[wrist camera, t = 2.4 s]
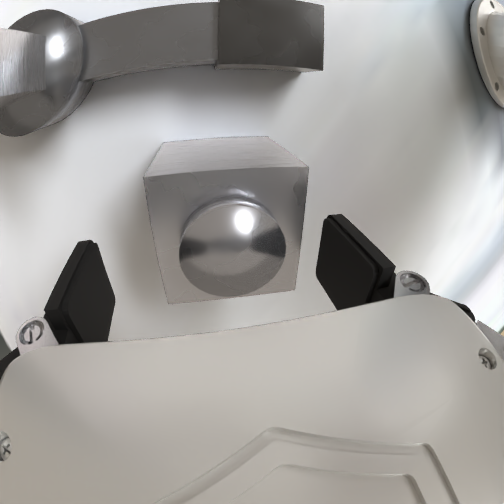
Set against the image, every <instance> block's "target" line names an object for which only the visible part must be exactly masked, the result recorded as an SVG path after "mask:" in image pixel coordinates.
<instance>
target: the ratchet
mask: <svg viewBox="0 0 504 504" xmlns="http://www.w3.org/2000/svg"><path fill="white" fill-rule="evenodd" d="M323 51H324V6H323V5H318V4H313V3H308V2H302V1H296V0H218V2H207V3H189V4H177V5H168V6H160V7H153V8H147V9H141V10H136V11H131V12H126V13H122V14H117V15H113V16H109V17H105V18H102V19H98V20H95V21H91V22H88V23H83V22H81V21H79V20H77V19H75V18H73V17H71V16H68V15H66V14H64V13H62V12H60V11H56V10H50V9H45V10H39V11H35V12H32V13H30V14H28V15H26V16H24V17H22V18H21V19H19V20H18V21H16V22H15V23H14V24H13V25H12V26H10V27H9V28H8V29H4V28H0V133H1V134H4V135H7V136H22V135H26V134H29V133H31V132H33V131H36V130H38V129H41V128H44V127H46V126H49V125H52V124H54V123H57V122H59V121H61V120H63V119H64V118H66V117H67V116H69V115H70V114H71V113H72V112H73V111H74V110H76V108H77V107H78V106H79V105H80V104H81V103H82V101H83V100H84V99H85V97H86V96H87V94H88V93H89V91H90V89H91V87H92V85H93V83H94V82H95V81H99V80H103V79H107V78H111V77H116V76H121V75H126V74H131V73H136V72H142V71H149V70H155V69H163V68H171V67H181V66H193V65H210V64H215V69H268V70H284V71H296V72H310V71H323Z"/></svg>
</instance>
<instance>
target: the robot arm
mask: <svg viewBox="0 0 504 504" xmlns="http://www.w3.org/2000/svg"><path fill="white" fill-rule="evenodd" d="M470 31H471V38H472V44H473V49H474V54H475V57H476V61H477V64H478V68H479V70H480V73H481V76H482V79H483V81H484V83H485V85H486V88H487V89H488V91H489V93H490V95H491V96H492V98H493V99H494V100H495V102H496V103H497V104H498V105H500V106H501V107H503V108H504V7H503V6H502V5H501V4H500V3H499V2H497V1H496V0H475V1H474V3H473V4H472V8H471V11H470ZM395 267H396V266H395V265H394V264H393V263H392V262H391V261H390V260H389V259H388V258H387V257H386V256H385V255H384V254H383V253H382V252H381V251H380V250H379V249H378V248H377V247H376V246H375V245H374V244H373V243H372V242H371V241H370V240H369V239H368V238H367V237H366V236H365V235H364V234H363V233H362V232H360V231H359V230H358V229H357V228H356V227H355V226H354V225H353V224H352V223H351V222H350V221H349V220H348V219H347V218H345V217H344V216H343V215H342V214H337V215H329V216H328V217H327V219H324V222H323V228H322V235H321V242H320V248H319V254H318V260H317V266H316V276H317V279H318V280H319V282H320V284H321V285H322V287H323V288H324V290H325V291H326V293H327V295H328V296H329V298H330V299H331V301H332V303H333V304H334V306H335V307H336V309H337V311H333V312H328V313H323V314H318V315H313V316H308V317H303V318H298V319H292V320H287V321H281V322H276V323H270V324H264V325H258V326H251V327H245V328H238V329H231V330H224V331H217V332H209V333H200V334H192V335H183V336H173V337H162V338H151V339H139V340H125V341H108V336H109V331H110V326H111V321H112V316H113V311H114V306H115V295H114V292H113V290H112V287H111V284H110V281H109V278H108V276H107V273H106V270H105V267H104V264H103V260H102V257H101V254H100V251H99V248H98V245H97V243H93V241H92V240H87V241H80V242H78V243H77V245H76V247H75V248H74V250H73V252H72V254H71V256H70V257H69V259H68V261H67V263H66V265H65V267H64V269H63V271H62V273H61V275H60V277H59V279H58V281H57V283H56V285H55V287H54V289H53V291H52V293H51V295H50V297H49V300H48V302H47V304H46V306H45V309H44V311H45V315H44V318H42V317H34V318H31V319H29V320H27V321H26V322H24V323H23V324H22V325H21V327H20V328H19V330H18V332H17V334H16V343H17V346H18V347H17V348H16V349H14V350H13V351H12V352H11V353H9V354H8V355H7V356H6V357H4V358H3V359H2V360H1V361H0V504H504V337H503V336H502V335H501V334H499V333H497V332H496V331H494V330H493V329H491V328H490V327H488V326H487V325H485V324H483V323H482V322H480V321H479V320H478V321H477V323H475V317H474V315H473V313H472V312H471V310H470V309H469V308H468V307H467V306H466V305H464V304H460V303H457V302H454V301H452V300H449V299H447V298H444V297H441V296H438V295H435V294H432V293H430V287H429V283H428V282H427V280H426V279H425V278H424V277H423V276H421V275H419V274H418V273H415V272H412V271H401V272H399V273H398V274H397V275H396V274H395V273H394V270H395Z"/></svg>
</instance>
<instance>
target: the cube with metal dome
mask: <svg viewBox="0 0 504 504" xmlns="http://www.w3.org/2000/svg"><path fill="white" fill-rule="evenodd" d="M308 172H309V167H308V166H307V165H306V164H305V163H303V162H302V161H301V160H299V159H298V158H297V157H295V156H294V155H293V154H291V153H290V152H289V151H287V150H286V149H285V148H283V147H282V146H280V145H279V144H278V143H276V142H275V141H273V140H272V139H271V138H269V137H268V136H257V137H226V138H209V139H196V140H184V141H175V142H166V143H163V144H162V146H161V148H160V149H159V151H158V153H157V154H156V156H155V158H154V159H153V161H152V163H151V165H150V166H149V168H148V170H147V172H146V174H145V175H144V177H143V178H144V185H145V192H146V198H147V205H148V211H149V216H150V222H151V228H152V233H153V238H154V243H155V248H156V253H157V258H158V262H159V267H160V271H161V276H162V280H163V284H164V288H165V292H166V297H167V300H168V304H175V303H186V302H196V301H206V300H216V299H226V298H235V297H243V296H252V295H260V294H268V293H276V292H283V291H291V290H295V285H296V278H297V270H298V263H299V255H300V247H301V239H302V230H303V222H304V213H305V203H306V193H307V183H308Z"/></svg>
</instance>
